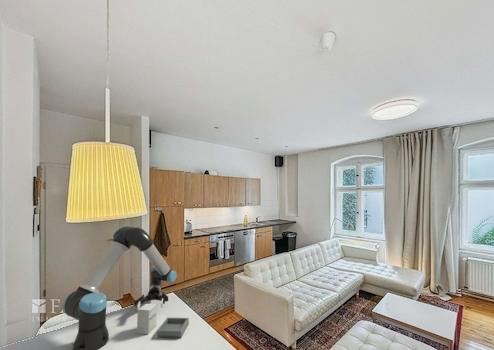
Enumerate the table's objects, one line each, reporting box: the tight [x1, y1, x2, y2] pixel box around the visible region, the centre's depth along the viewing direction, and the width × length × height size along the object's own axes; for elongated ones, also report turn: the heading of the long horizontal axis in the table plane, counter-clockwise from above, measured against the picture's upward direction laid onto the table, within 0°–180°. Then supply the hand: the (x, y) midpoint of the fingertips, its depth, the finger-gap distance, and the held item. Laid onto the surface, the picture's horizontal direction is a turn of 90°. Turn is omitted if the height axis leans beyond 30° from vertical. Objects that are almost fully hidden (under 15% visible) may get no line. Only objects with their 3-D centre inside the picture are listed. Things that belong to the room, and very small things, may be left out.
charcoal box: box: [156, 317, 190, 339], centre depth 125 cm, size 13×13×4 cm
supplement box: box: [136, 303, 158, 335], centre depth 126 cm, size 7×7×13 cm
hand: (149, 307), depth 135 cm, fingers open, 13 cm apart
